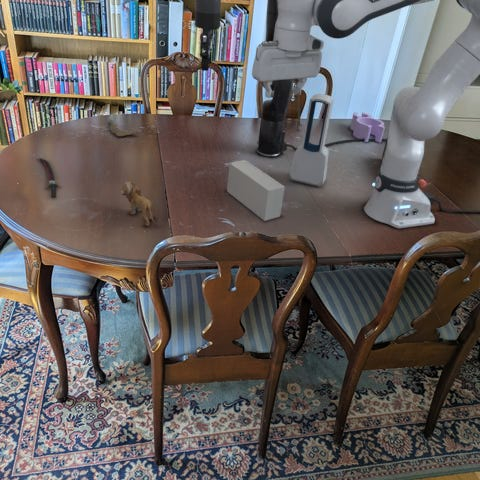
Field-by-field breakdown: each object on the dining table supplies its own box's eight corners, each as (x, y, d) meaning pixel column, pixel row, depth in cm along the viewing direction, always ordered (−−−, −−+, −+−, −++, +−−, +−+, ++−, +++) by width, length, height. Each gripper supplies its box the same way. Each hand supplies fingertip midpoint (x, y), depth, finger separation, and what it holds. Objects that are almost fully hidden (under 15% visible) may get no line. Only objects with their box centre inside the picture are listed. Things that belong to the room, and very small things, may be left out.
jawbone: (124, 141, 183) (123, 136, 182) (92, 127, 194) (92, 122, 192) (142, 134, 189) (141, 130, 188) (110, 121, 199) (109, 116, 198)
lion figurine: (118, 210, 138) (116, 182, 133) (132, 204, 141) (131, 177, 137) (151, 229, 130) (150, 201, 126) (165, 223, 134) (165, 195, 129)
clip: (343, 126, 223) (346, 112, 219) (367, 127, 225) (371, 113, 221) (360, 142, 206) (364, 127, 202) (386, 142, 209) (390, 127, 205)
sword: (61, 197, 141) (61, 193, 140) (50, 198, 139) (50, 194, 139) (49, 160, 164) (48, 156, 163) (39, 160, 163) (39, 157, 162)
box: (226, 191, 155) (229, 162, 149) (242, 187, 158) (245, 159, 153) (264, 220, 141) (268, 190, 135) (280, 216, 144) (284, 186, 138)
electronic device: (325, 180, 169) (342, 97, 152) (321, 188, 163) (339, 103, 146) (292, 173, 172) (306, 91, 155) (287, 181, 165) (301, 96, 149)
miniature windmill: (298, 130, 211) (309, 61, 195) (279, 127, 212) (289, 59, 196) (300, 124, 219) (311, 57, 203) (282, 121, 220) (292, 55, 204)
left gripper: (218, 14, 131) (216, 73, 140) (222, 7, 143) (220, 62, 152) (191, 12, 131) (191, 71, 140) (198, 5, 143) (197, 60, 152)
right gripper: (265, 44, 110) (258, 102, 117) (328, 42, 120) (318, 96, 128) (250, 38, 114) (244, 95, 121) (312, 37, 124) (304, 89, 132)
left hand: (206, 66), depth 146 cm, fingers open, 8 cm apart
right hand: (283, 95), depth 125 cm, fingers open, 8 cm apart
